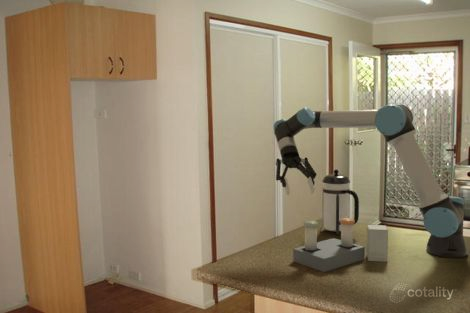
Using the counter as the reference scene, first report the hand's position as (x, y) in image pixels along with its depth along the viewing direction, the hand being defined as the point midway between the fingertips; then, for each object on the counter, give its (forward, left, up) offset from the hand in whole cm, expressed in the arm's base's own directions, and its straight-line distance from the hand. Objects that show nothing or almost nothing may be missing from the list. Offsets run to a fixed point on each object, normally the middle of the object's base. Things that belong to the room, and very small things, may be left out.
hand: (300, 192), depth 192 cm
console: (-13, -2, -25) cm, 29 cm away
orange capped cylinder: (-16, -9, -20) cm, 27 cm away
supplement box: (-24, -18, -26) cm, 39 cm away
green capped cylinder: (-10, +5, -20) cm, 23 cm away
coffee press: (+12, -37, -26) cm, 47 cm away
